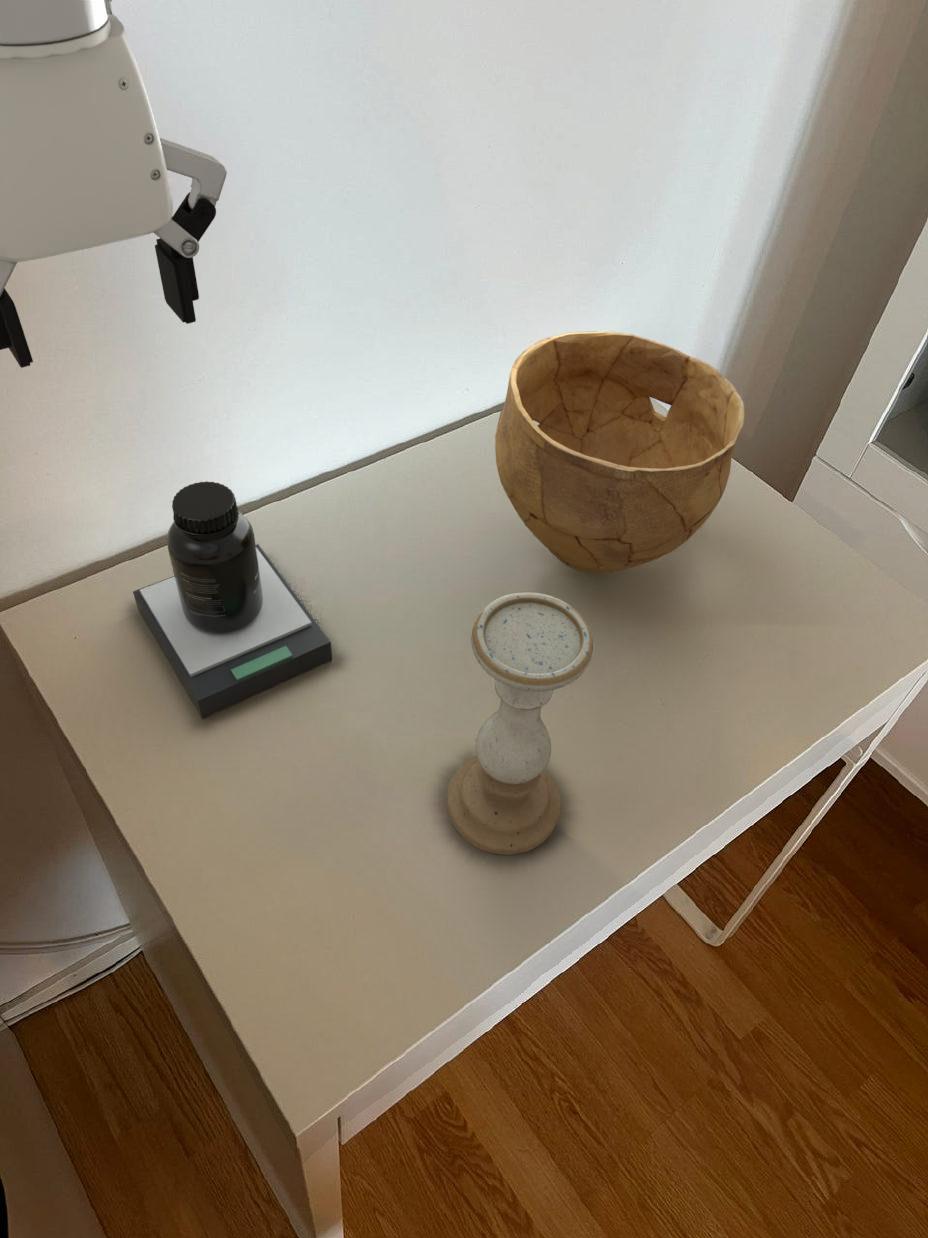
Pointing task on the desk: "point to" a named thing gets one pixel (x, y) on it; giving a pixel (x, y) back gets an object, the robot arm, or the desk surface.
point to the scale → (235, 643)
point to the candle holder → (518, 721)
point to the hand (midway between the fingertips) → (103, 332)
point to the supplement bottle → (214, 559)
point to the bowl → (614, 447)
